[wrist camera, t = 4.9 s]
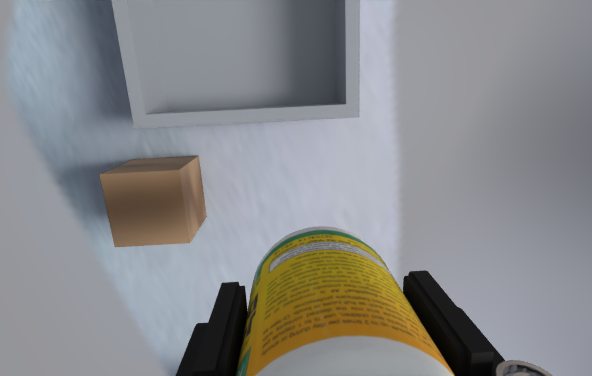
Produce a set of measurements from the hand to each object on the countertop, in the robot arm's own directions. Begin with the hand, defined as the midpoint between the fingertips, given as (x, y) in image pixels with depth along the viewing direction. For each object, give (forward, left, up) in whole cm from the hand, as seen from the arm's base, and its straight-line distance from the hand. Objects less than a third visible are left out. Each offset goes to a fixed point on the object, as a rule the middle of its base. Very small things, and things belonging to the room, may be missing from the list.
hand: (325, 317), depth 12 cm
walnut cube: (-6, +8, -16) cm, 19 cm away
